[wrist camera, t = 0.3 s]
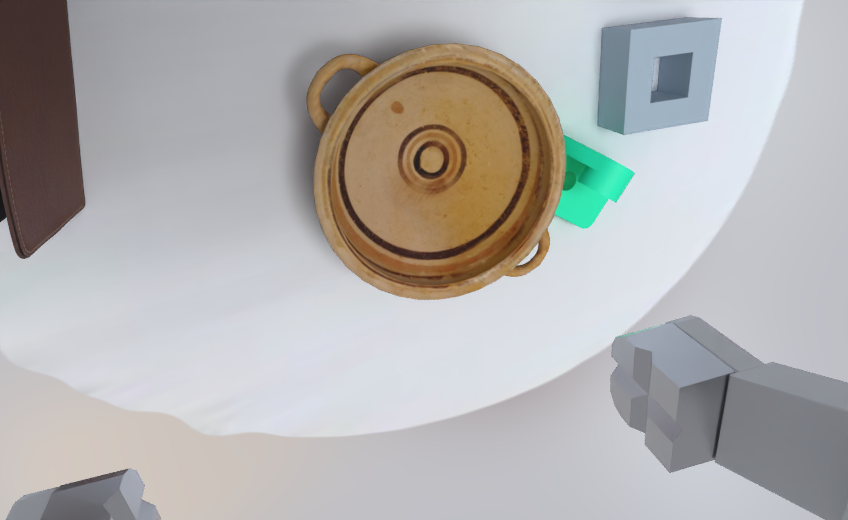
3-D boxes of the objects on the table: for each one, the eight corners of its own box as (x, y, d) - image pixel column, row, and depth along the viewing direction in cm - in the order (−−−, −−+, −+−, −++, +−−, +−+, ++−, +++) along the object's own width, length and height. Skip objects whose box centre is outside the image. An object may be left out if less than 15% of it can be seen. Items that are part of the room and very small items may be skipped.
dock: (602, 28, 56) (630, 29, 51) (687, 17, 58) (721, 18, 53) (597, 125, 60) (623, 134, 56) (676, 112, 62) (707, 120, 58)
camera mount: (497, 182, 60) (537, 213, 51) (533, 120, 58) (581, 140, 49) (576, 223, 65) (626, 258, 56) (612, 166, 63) (669, 193, 54)
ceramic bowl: (587, 161, 62) (628, 181, 55) (446, 315, 66) (467, 352, 59) (396, -44, 48) (418, -53, 41) (232, 164, 52) (227, 188, 45)
